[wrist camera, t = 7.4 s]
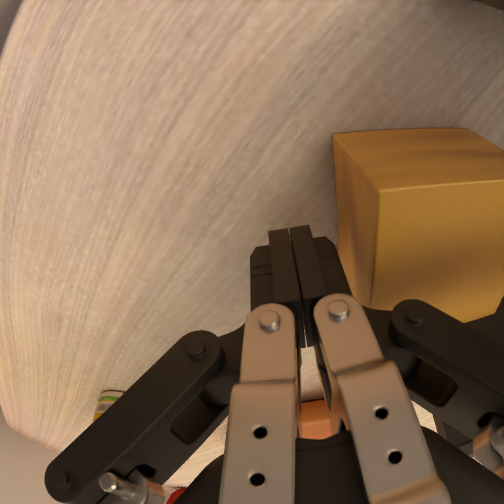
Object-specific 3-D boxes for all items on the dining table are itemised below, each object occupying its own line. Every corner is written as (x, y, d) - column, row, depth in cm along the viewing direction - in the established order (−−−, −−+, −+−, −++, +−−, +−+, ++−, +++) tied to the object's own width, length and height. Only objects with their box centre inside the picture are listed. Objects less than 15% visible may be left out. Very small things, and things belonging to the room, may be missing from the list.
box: (331, 133, 11) (378, 189, 7) (467, 127, 10) (543, 177, 6) (337, 264, 15) (363, 348, 11) (450, 245, 14) (495, 314, 10)
